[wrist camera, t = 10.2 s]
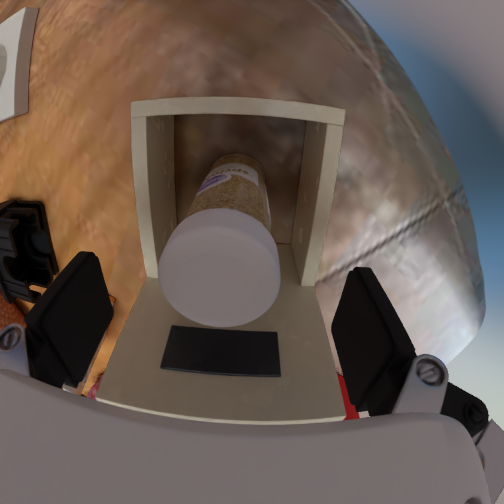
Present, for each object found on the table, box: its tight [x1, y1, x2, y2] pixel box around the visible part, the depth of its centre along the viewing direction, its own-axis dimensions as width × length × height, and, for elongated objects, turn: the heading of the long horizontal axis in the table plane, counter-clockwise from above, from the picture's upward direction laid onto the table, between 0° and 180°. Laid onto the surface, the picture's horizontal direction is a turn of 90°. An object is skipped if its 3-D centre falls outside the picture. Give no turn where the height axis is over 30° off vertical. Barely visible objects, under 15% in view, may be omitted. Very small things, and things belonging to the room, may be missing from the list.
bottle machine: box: [95, 96, 346, 425], centre depth 14 cm, size 13×12×16 cm
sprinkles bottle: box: [158, 154, 280, 327], centre depth 15 cm, size 5×5×14 cm
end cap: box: [0, 200, 58, 304], centre depth 20 cm, size 10×7×7 cm
